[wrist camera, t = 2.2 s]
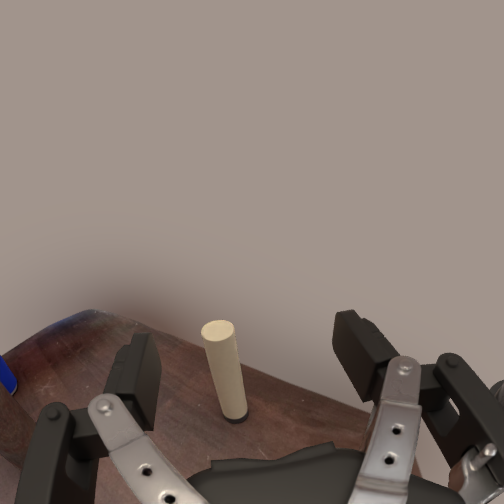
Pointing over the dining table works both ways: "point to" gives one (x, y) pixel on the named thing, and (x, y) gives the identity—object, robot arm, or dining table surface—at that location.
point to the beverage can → (7, 377)
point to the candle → (14, 429)
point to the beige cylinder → (225, 369)
